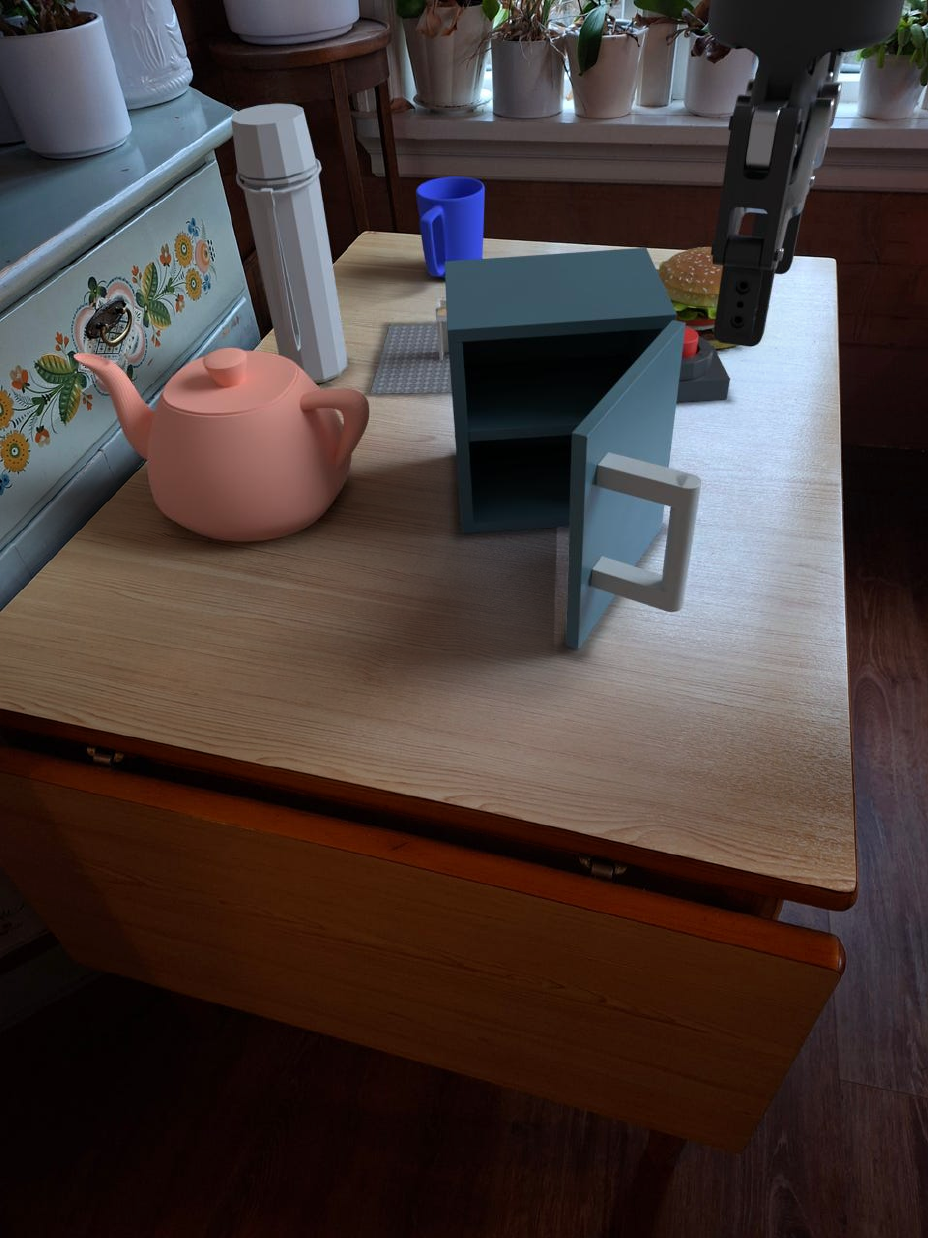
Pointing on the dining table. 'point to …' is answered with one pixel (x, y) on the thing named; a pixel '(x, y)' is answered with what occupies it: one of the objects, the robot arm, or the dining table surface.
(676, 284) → the food
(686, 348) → the red push button
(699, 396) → the button box
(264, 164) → the water bottle
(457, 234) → the mug
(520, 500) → the cupboard
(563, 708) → the dining table surface
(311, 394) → the teapot
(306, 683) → the dining table surface
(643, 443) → the cupboard door
